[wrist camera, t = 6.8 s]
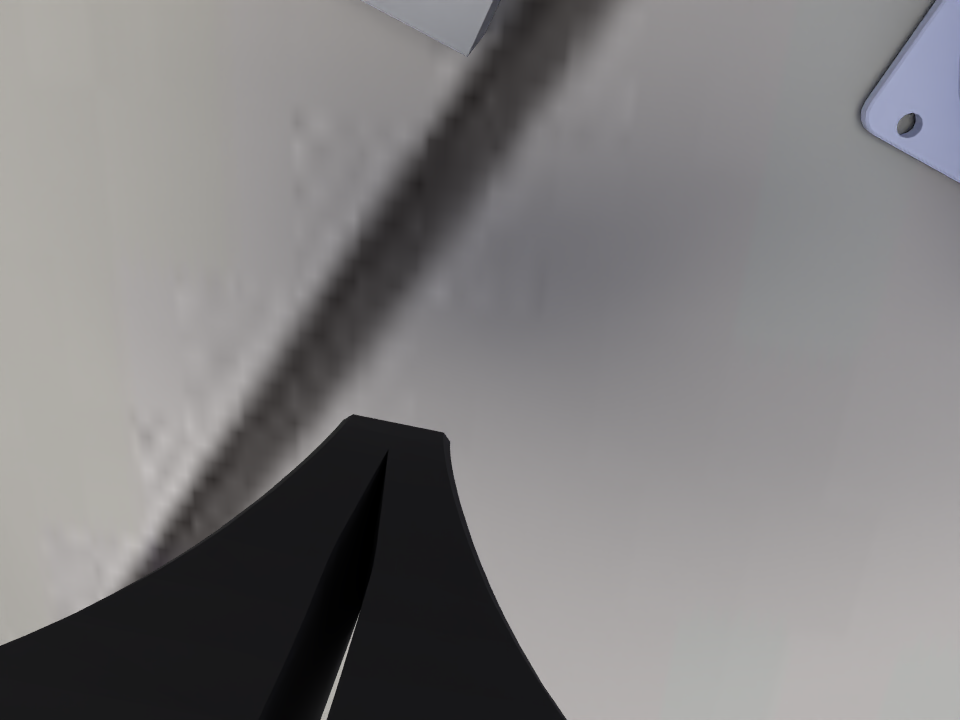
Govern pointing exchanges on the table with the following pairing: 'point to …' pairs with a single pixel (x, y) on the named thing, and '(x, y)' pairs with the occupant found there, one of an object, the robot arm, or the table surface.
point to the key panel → (443, 19)
